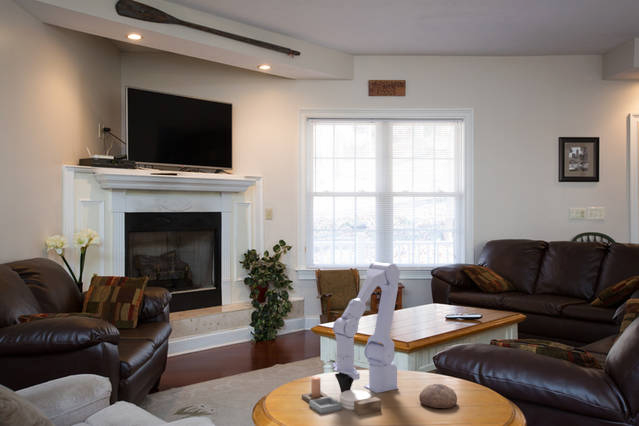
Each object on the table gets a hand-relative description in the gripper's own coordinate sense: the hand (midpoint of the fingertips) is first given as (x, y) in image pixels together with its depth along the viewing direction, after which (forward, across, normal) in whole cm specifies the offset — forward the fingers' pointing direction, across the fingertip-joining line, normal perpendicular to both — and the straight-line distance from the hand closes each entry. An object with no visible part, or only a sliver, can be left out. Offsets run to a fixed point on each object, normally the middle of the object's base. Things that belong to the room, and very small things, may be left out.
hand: (345, 395), depth 179 cm
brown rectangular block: (+1, +13, 0) cm, 13 cm away
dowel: (+1, -4, -9) cm, 10 cm away
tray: (+1, +5, -10) cm, 11 cm away
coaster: (+2, +6, 0) cm, 6 cm away
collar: (+1, -4, -9) cm, 10 cm away
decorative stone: (+3, +22, +24) cm, 33 cm away
